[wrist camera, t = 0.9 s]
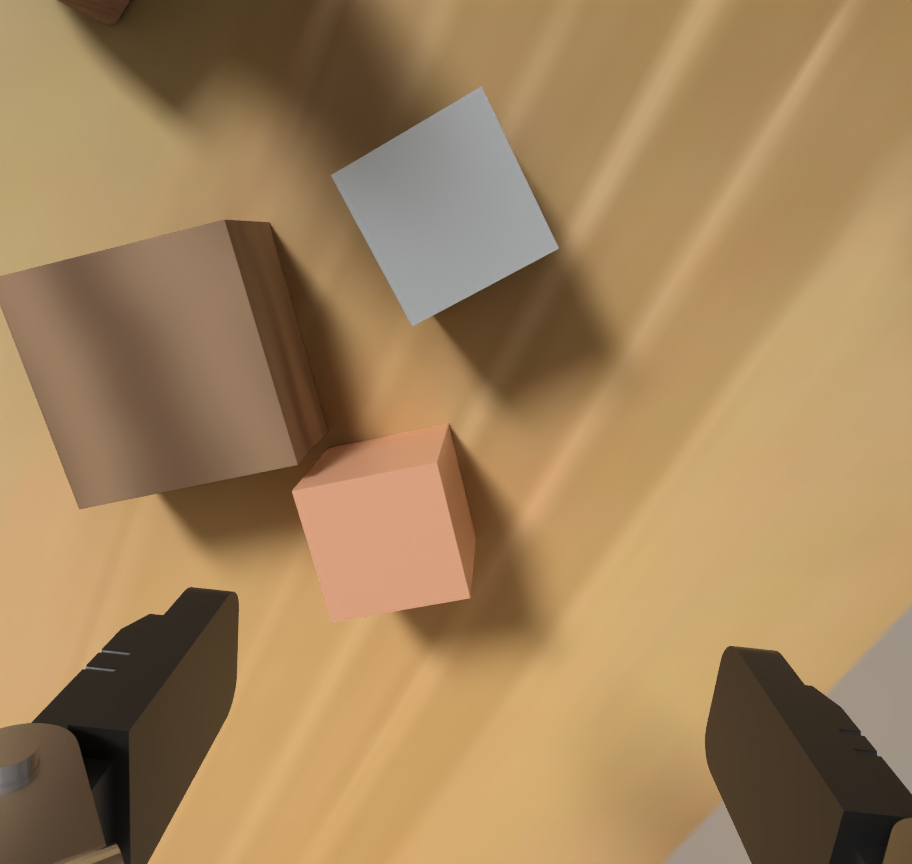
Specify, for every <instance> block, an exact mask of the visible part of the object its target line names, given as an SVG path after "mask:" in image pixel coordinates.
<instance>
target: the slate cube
mask: <svg viewBox="0 0 912 864" xmlns="http://www.w3.org/2000/svg"><path fill="white" fill-rule="evenodd" d="M331 177H332V179H333V181H334V182H335V184H336V186H337V188H338V190H339V192H340V194H341V195H342V197H343V199H344V201H345V203H346V205H347V207H348V208H349V210H350V212H351V214H352V216H353V218H354V220H355V221H356V223H357V225H358V227H359V229H360V231H361V233H362V234H363V236H364V238H365V240H366V242H367V244H368V246H369V247H370V249H371V251H372V253H373V255H374V257H375V259H376V260H377V262H378V264H379V266H380V268H381V270H382V272H383V273H384V275H385V277H386V279H387V281H388V283H389V285H390V286H391V288H392V290H393V292H394V294H395V296H396V298H397V299H398V301H399V303H400V305H401V307H402V309H403V311H404V312H405V314H406V316H407V318H408V320H409V322H410V324H411V325H412V326H414V325H416V324H418V323H420V322H422V321H424V320H426V319H427V318H429V317H431V316H433V315H435V314H437V313H439V312H441V311H442V310H444V309H446V308H448V307H450V306H452V305H454V304H456V303H458V302H459V301H461V300H463V299H465V298H467V297H469V296H471V295H473V294H474V293H476V292H478V291H480V290H482V289H484V288H486V287H488V286H490V285H491V284H493V283H495V282H497V281H499V280H501V279H503V278H505V277H506V276H508V275H510V274H512V273H514V272H516V271H518V270H520V269H522V268H523V267H525V266H527V265H529V264H531V263H533V262H535V261H537V260H538V259H540V258H542V257H544V256H546V255H548V254H550V253H552V252H554V251H555V250H557V249H559V247H558V245H557V243H556V241H555V239H554V237H553V235H552V233H551V231H550V229H549V226H548V224H547V222H546V220H545V218H544V216H543V214H542V212H541V210H540V208H539V205H538V203H537V201H536V199H535V197H534V195H533V193H532V191H531V189H530V187H529V185H528V182H527V180H526V178H525V176H524V174H523V172H522V170H521V168H520V166H519V164H518V162H517V159H516V157H515V155H514V153H513V151H512V149H511V147H510V145H509V143H508V141H507V139H506V136H505V134H504V132H503V130H502V128H501V126H500V124H499V122H498V120H497V118H496V116H495V113H494V111H493V109H492V107H491V105H490V103H489V101H488V99H487V97H486V95H485V93H484V90H483V88H482V86H481V87H479V88H478V89H476V90H474V91H473V92H471V93H469V94H467V95H466V96H464V97H462V98H461V99H459V100H457V101H456V102H454V103H452V104H451V105H449V106H447V107H446V108H444V109H442V110H440V111H439V112H437V113H435V114H434V115H432V116H430V117H429V118H427V119H425V120H424V121H422V122H420V123H418V124H417V125H415V126H413V127H412V128H410V129H408V130H407V131H405V132H403V133H402V134H400V135H398V136H396V137H395V138H393V139H391V140H390V141H388V142H386V143H385V144H383V145H381V146H380V147H378V148H376V149H374V150H373V151H371V152H369V153H368V154H366V155H364V156H363V157H361V158H359V159H358V160H356V161H354V162H353V163H351V164H349V165H347V166H346V167H344V168H342V169H341V170H339V171H337V172H336V173H334V174H332V175H331Z"/></svg>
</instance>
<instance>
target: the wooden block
mask: <svg viewBox="0 0 912 864" xmlns="http://www.w3.org/2000/svg"><path fill="white" fill-rule="evenodd" d="M58 1H60V2H62V3H64V4H66V5H68V6H70V7H72V8H74V9H76V10H77V11H79V12H81V13H83V14H85V15H87V16H89V17H91V18H93V19H95V20H97V21H99V22H100V23H103V24H106V25H108V26H111V25H113V24H115V23H116V22H117V21H118V20H119V18H120V16H121V15H122V13H123V12H124V10H125V8H126V7H127V5H128V4H129V2H130V0H58Z"/></svg>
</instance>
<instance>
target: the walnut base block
mask: <svg viewBox="0 0 912 864" xmlns="http://www.w3.org/2000/svg"><path fill="white" fill-rule="evenodd" d="M0 306H1V309H2V311H3V314H4V316H5V319H6V321H7V324H8V327H9V329H10V332H11V334H12V337H13V339H14V342H15V345H16V347H17V350H18V352H19V355H20V358H21V360H22V363H23V365H24V368H25V370H26V373H27V376H28V378H29V381H30V383H31V386H32V388H33V391H34V394H35V396H36V399H37V401H38V404H39V407H40V409H41V412H42V414H43V417H44V419H45V422H46V425H47V427H48V430H49V432H50V435H51V437H52V440H53V443H54V445H55V448H56V450H57V453H58V456H59V458H60V461H61V463H62V466H63V468H64V471H65V474H66V476H67V479H68V481H69V484H70V486H71V489H72V492H73V494H74V497H75V499H76V502H77V504H78V507H79V509H84V508H88V507H93V506H98V505H103V504H108V503H113V502H118V501H123V500H128V499H133V498H138V497H143V496H147V495H152V494H157V493H162V492H167V491H172V490H177V489H182V488H187V487H192V486H197V485H202V484H207V483H211V482H216V481H221V480H226V479H231V478H236V477H241V476H246V475H251V474H256V473H261V472H266V471H270V470H275V469H280V468H285V467H290V466H295V465H298V464H299V463H300V462H301V461H302V460H303V459H304V458H305V456H306V455H307V454H308V453H309V452H310V451H311V450H312V449H313V448H314V447H315V445H316V444H317V443H318V442H319V441H320V440H321V439H322V438H323V437H324V436H325V434H326V433H327V432H328V428H327V424H326V421H325V417H324V414H323V410H322V406H321V403H320V399H319V396H318V392H317V389H316V385H315V382H314V378H313V375H312V371H311V368H310V364H309V361H308V357H307V354H306V350H305V347H304V343H303V340H302V336H301V333H300V329H299V325H298V322H297V318H296V315H295V311H294V308H293V304H292V301H291V297H290V294H289V290H288V287H287V283H286V280H285V276H284V273H283V269H282V266H281V262H280V259H279V255H278V252H277V248H276V244H275V241H274V237H273V234H272V230H271V227H270V223H269V222H253V221H236V220H222V221H218V222H214V223H210V224H206V225H202V226H198V227H194V228H190V229H186V230H182V231H178V232H174V233H170V234H166V235H162V236H158V237H154V238H150V239H146V240H142V241H138V242H134V243H130V244H126V245H123V246H119V247H115V248H111V249H107V250H103V251H99V252H95V253H91V254H87V255H83V256H79V257H75V258H71V259H67V260H63V261H59V262H55V263H51V264H47V265H43V266H39V267H35V268H31V269H27V270H23V271H19V272H16V273H12V274H8V275H4V276H0Z"/></svg>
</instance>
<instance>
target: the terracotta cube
mask: <svg viewBox="0 0 912 864" xmlns="http://www.w3.org/2000/svg"><path fill="white" fill-rule="evenodd" d="M292 494H293V497H294V500H295V503H296V507H297V510H298V513H299V517H300V520H301V523H302V526H303V530H304V533H305V536H306V540H307V543H308V546H309V549H310V553H311V556H312V559H313V563H314V566H315V569H316V572H317V576H318V579H319V582H320V585H321V589H322V592H323V595H324V599H325V602H326V605H327V608H328V612H329V615H330V618H331V622H336V621H342V620H348V619H353V618H359V617H365V616H371V615H377V614H382V613H388V612H394V611H400V610H405V609H411V608H417V607H423V606H429V605H434V604H440V603H446V602H452V601H457V600H463V599H469V598H470V597H471V587H472V576H473V566H474V556H475V546H476V536H475V532H474V528H473V523H472V519H471V515H470V511H469V507H468V503H467V498H466V494H465V490H464V486H463V482H462V477H461V473H460V469H459V465H458V461H457V456H456V452H455V448H454V444H453V440H452V436H451V431H450V427H449V423H448V424H444V425H439V426H434V427H429V428H424V429H419V430H414V431H409V432H405V433H400V434H395V435H390V436H385V437H380V438H375V439H370V440H366V441H361V442H356V443H351V444H346V445H341V446H336V447H331V448H327V450H326V451H325V452H324V453H323V454H322V456H321V457H320V458H319V459H318V460H317V462H316V463H315V464H314V465H313V466H312V468H311V469H310V470H309V471H308V472H307V473H306V475H305V476H304V477H303V478H302V479H301V481H300V482H299V483H298V484H297V485H296V487H295V488H294V489H293V490H292Z"/></svg>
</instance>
